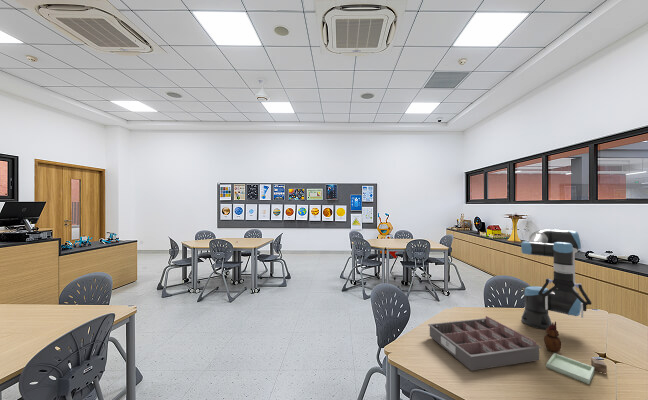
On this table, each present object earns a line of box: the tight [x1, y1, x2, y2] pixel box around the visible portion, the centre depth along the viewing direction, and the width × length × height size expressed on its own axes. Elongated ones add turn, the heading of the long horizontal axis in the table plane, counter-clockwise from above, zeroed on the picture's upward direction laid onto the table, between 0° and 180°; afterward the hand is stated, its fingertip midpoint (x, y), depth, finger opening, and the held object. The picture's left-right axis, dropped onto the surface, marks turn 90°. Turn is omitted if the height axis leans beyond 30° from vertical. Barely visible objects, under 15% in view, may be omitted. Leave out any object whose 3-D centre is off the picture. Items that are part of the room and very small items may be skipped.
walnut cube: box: [590, 358, 608, 375], centre depth 117 cm, size 4×4×4 cm
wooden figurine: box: [543, 321, 562, 353], centre depth 133 cm, size 7×6×15 cm
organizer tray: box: [427, 315, 542, 371], centre depth 134 cm, size 32×40×10 cm
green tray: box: [545, 352, 595, 385], centre depth 117 cm, size 14×14×2 cm
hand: (563, 312), depth 133 cm, fingers open, 13 cm apart
